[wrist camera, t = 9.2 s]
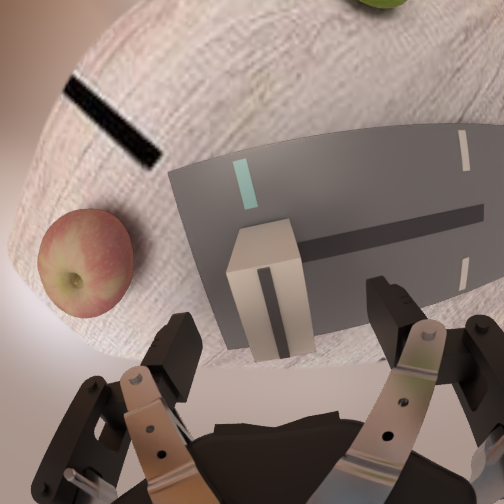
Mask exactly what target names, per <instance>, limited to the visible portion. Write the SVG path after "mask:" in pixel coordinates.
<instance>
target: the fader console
mask: <svg viewBox="0 0 504 504" xmlns="http://www.w3.org/2000/svg"><path fill="white" fill-rule="evenodd" d="M168 176H169V179H170V183H171V186H172V190H173V193H174V197H175V200H176V203H177V207H178V210H179V213H180V216H181V220H182V223H183V226H184V229H185V232H186V235H187V238H188V242H189V245H190V248H191V251H192V254H193V257H194V260H195V262H196V265H197V268H198V271H199V274H200V277H201V280H202V283H203V285H204V288H205V291H206V294H207V297H208V299H209V302H210V305H211V307H212V310H213V313H214V315H215V318H216V321H217V323H218V326H219V329H220V331H221V334H222V336H223V339H224V341H225V344H226V346H227V349H228V350H232V349H240V348H247V347H250V346H249V343H248V340H247V337H246V334H245V331H244V328H243V325H242V322H241V319H240V316H239V313H238V310H237V306H236V303H235V300H234V297H233V294H232V291H231V288H230V284H229V281H228V278H227V275H226V271H227V268H228V264H229V261H230V258H231V255H232V252H233V249H234V246H235V242H236V239H237V236H238V233H239V230H240V229H242V228H246V227H251V226H255V225H260V224H265V223H269V222H274V221H279V220H283V219H288V218H289V220H290V223H291V227H292V230H293V233H294V237H295V240H296V243H297V247H298V250H299V253H300V257H301V262H302V267H303V273H304V278H305V284H306V290H307V296H308V302H309V308H310V314H311V321H312V327H313V334H314V336H317V335H321V334H326V333H331V332H335V331H340V330H344V329H348V328H352V327H356V326H360V325H364V324H368V323H370V322H369V319H368V314H367V299H366V280H367V279H369V278H373V277H377V276H381V275H383V276H384V277H385V279H386V280H387V281H388V283H389V284H390V285H392V284H397V285H399V286H401V287H403V288H404V289H405V290H406V291H407V292H408V294H409V295H410V296H411V297H412V299H413V300H414V302H416V304H417V305H418V306H419V308H423V307H426V306H429V305H432V304H435V303H438V302H441V301H444V300H446V299H449V298H452V297H455V296H457V295H460V294H463V293H465V292H468V291H470V290H473V289H475V288H478V287H480V286H483V285H485V284H488V283H490V282H492V281H495V280H497V279H499V278H501V277H504V125H490V124H463V123H443V124H414V125H398V126H385V127H375V128H365V129H357V130H349V131H342V132H335V133H328V134H322V135H315V136H310V137H304V138H299V139H293V140H288V141H283V142H278V143H273V144H269V145H264V146H260V147H255V148H251V149H247V150H243V151H239V152H235V153H231V154H227V155H223V156H220V157H216V158H212V159H209V160H205V161H202V162H198V163H195V164H192V165H188V166H185V167H182V168H179V169H176V170H172V171H169V172H168Z"/></svg>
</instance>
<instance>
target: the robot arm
mask: <svg viewBox="0 0 504 504" xmlns="http://www.w3.org/2000/svg"><path fill="white" fill-rule="evenodd" d="M366 299H367V314H368V319H369V322H370V324H371V326H372V328H373V330H374V332H375V334H376V336H377V339H378V341H379V343H380V345H381V347H382V349H383V352H384V354H385V356H386V358H387V361H388V363H389V365H390V368H391V372H390V375H389V377H388V379H387V381H386V383H385V385H384V387H383V389H382V391H381V393H380V396H379V397H378V399H377V402H376V403H375V405H374V407H373V409H372V411H371V413H370V414H369V416H368V418H367V420H366V422H365V423H364V422H361V421H356V420H350V419H340V418H339V412H338V411H335V412H330V413H325V414H319V415H314V416H308V417H305V418H302V419H299V420H296V421H293V422H291V423H288V424H284V425H282V426H278V427H265V426H258V425H251V424H244V423H241V424H215V427H214V433H210V434H207V435H204V436H202V437H199V438H197V439H195V440H194V438H193V437H192V435H191V434H190V432H189V430H188V429H187V427H186V425H185V424H184V422H183V420H182V418H181V417H180V415H179V413H178V412H177V410H176V409H175V404H176V402H181V403H183V402H185V403H186V402H187V398H188V395H189V391H190V388H191V385H192V381H193V378H194V375H195V372H196V369H197V365H198V362H199V359H200V356H201V352H202V348H203V345H202V339H201V336H200V334H199V332H198V330H197V327H196V325H195V323H194V320H193V318H192V316H191V314H190V313H189V312H184V313H177V314H173V315H172V316H171V318H170V320H169V322H168V324H167V325H165V326H164V327H163V328H162V329H161V330H160V331H158V333H157V334H156V336H155V338H154V341H153V342H152V344H151V347H149V349H148V351H147V353H146V355H145V357H144V359H143V361H142V363H141V365H140V366H135V367H133V368H130V369H129V370H128V371H126V372H125V373H124V374H123V375H122V377H121V379H120V381H118V382H114V383H109V384H107V382H106V381H105V380H104V378H103V377H101V376H93V377H90V378H89V379H87V380H86V381H85V382H84V383H83V384H82V385H81V387H80V389H79V391H78V392H77V394H76V396H75V397H74V399H73V401H72V403H71V404H70V406H69V408H68V410H67V412H66V414H65V416H64V417H63V419H62V421H61V423H60V425H59V427H58V429H57V431H56V433H55V435H54V437H53V439H52V441H51V443H50V445H49V447H48V449H47V451H46V453H45V455H44V457H43V460H42V462H41V464H40V466H39V468H38V471H37V473H36V475H35V478H34V480H33V482H32V485H31V494H32V497H33V499H34V500H35V501H36V502H37V503H39V504H493V503H495V502H496V501H498V500H501V499H504V332H503V331H502V329H501V328H500V327H499V326H498V325H497V323H496V322H495V321H494V320H493V319H492V318H490V317H489V316H486V315H474V316H472V317H470V318H469V319H468V320H467V322H466V325H465V328H459V329H446V328H445V326H444V325H443V324H442V323H440V322H438V321H436V320H431V319H428V318H427V317H426V316H425V314H424V313H423V312H422V310H421V309H420V308H419V306H418V305H417V304H416V302H414V300H413V299H412V297H411V296H410V295H409V294H408V292H407V291H406V290H405V289H404V288H403V287H401V286H399V285H397V284H392V285H390V284H389V283H388V281H387V280H386V279H385V277H384V276H383V275H381V276H377V277H373V278H369V279H367V280H366ZM451 383H452V385H453V388H454V390H455V392H456V394H457V396H458V399H459V401H460V403H461V405H462V408H463V410H464V413H465V415H466V417H467V420H468V422H469V425H470V427H471V430H472V433H473V435H474V438H475V441H476V444H477V446H478V449H477V450H476V452H475V453H474V455H473V457H472V461H471V468H472V475H471V479H470V481H468V480H466V479H465V478H464V477H462V476H459V475H458V474H456V473H454V472H452V471H450V470H447V469H446V468H444V467H442V466H440V465H438V464H436V463H434V462H433V461H431V460H429V459H427V458H425V457H423V456H422V455H420V454H418V453H417V452H415V451H413V450H412V448H413V445H414V443H415V441H416V438H417V436H418V434H419V431H420V428H421V426H422V423H423V421H424V418H425V415H426V412H427V409H428V406H429V403H430V400H431V397H432V394H433V391H434V387H435V385H441V384H451ZM100 417H101V418H102V419H103V420H104V421H105V425H104V428H103V430H102V432H101V435H100V437H99V440H97V439H96V438H95V435H94V429H95V427H96V424H97V422H98V420H99V418H100ZM131 440H132V443H133V446H134V449H135V451H136V454H137V457H138V459H139V462H140V464H141V467H142V469H143V472H144V474H145V477H146V478H145V479H144V480H143V481H141V482H140V483H139V484H137V485H136V486H134V487H133V488H132V489H130V490H129V491H127V492H126V493H124V494H123V495H122V496H120V497H119V498H118V496H117V491H116V487H117V483H118V480H119V476H120V473H121V470H122V467H123V463H124V460H125V457H126V454H127V451H128V448H129V445H130V442H131Z"/></svg>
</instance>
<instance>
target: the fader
mask: <svg viewBox="0 0 504 504" xmlns="http://www.w3.org/2000/svg"><path fill="white" fill-rule="evenodd" d="M226 275H227V278H228V281H229V284H230V288H231V291H232V294H233V297H234V300H235V303H236V306H237V310H238V313H239V316H240V319H241V322H242V325H243V328H244V331H245V334H246V337H247V340H248V343H249V346H250V349H251V352H252V355H253V358H254V361H255V362H259V361H266V360H272V359H279V358H280V359H283V358H289V357H291V356H296V355H302V354H307V353H312V352H316V348H315V341H314V334H313V327H312V321H311V314H310V308H309V302H308V296H307V290H306V284H305V278H304V273H303V267H302V262H301V257H300V253H299V250H298V247H297V243H296V240H295V237H294V233H293V230H292V227H291V223H290V220H289V218H288V219H283V220H279V221H274V222H269V223H265V224H260V225H255V226H251V227H246V228H242V229H240V230H239V233H238V236H237V239H236V242H235V246H234V249H233V252H232V255H231V258H230V261H229V264H228V268H227V271H226Z"/></svg>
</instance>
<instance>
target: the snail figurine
mask: <svg viewBox="0 0 504 504" xmlns="http://www.w3.org/2000/svg"><path fill="white" fill-rule="evenodd" d="M359 1H361V2H362V3H364V4H367V5H369V6H373V7H377V8H394V7H397V6H400V5H402V4H403V3H405V2H406V1H407V0H359Z"/></svg>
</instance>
